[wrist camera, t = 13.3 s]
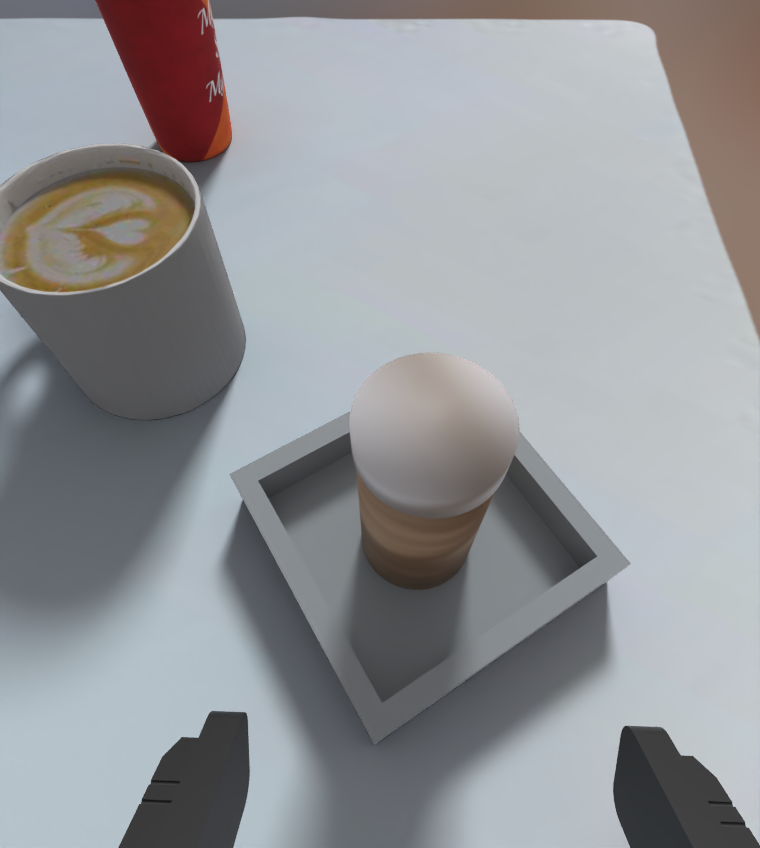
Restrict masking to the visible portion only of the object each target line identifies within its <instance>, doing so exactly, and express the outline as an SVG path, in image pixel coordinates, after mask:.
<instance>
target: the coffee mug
mask: <svg viewBox="0 0 760 848" xmlns="http://www.w3.org/2000/svg"><path fill="white" fill-rule="evenodd" d="M0 290H1V292H2V293H3V294H4V295H5V297H6V298H7V299H8V300H9V301H10V303H11V304H12V305H13V306H14V308H15V309H16V310H17V311H18V312H19V314H20V315H21V316H22V317H23V319H24V320H25V321H26V322H27V323H28V325H29V326H30V327H31V328H32V330H33V331H34V332H35V333H36V334H37V336H38V337H39V338H40V339H41V341H42V342H43V343H44V344H45V345H46V347H47V348H48V349H49V350H50V352H51V353H52V354H53V355H54V356H55V358H56V359H57V360H58V361H59V363H60V364H61V365H62V366H63V367H64V369H65V370H66V371H67V372H68V374H69V375H70V376H71V377H72V378H73V380H74V381H75V382H76V383H77V385H78V386H79V387H80V388H81V390H82V391H83V392H84V393H85V394H86V396H87V397H88V398H89V399H90V400H91V401H92V402H93V403H94V404H95V405H97V406H98V407H100V408H101V409H103V410H105V411H107V412H109V413H111V414H114V415H116V416H120V417H124V418H128V419H136V420H154V419H161V418H168V417H172V416H175V415H179V414H182V413H185V412H188V411H190V410H192V409H194V408H196V407H198V406H200V405H202V404H203V403H205V402H207V401H208V400H210V399H211V398H212V397H214V396H215V395H216V394H217V393H219V392H220V391H221V390H222V389H223V388H224V387H225V386H226V385H227V384H228V383H229V381H230V380H231V379H232V377H233V376H234V375H235V373H236V371H237V370H238V368H239V366H240V364H241V361H242V359H243V354H244V350H245V343H246V336H245V330H244V326H243V323H242V319H241V316H240V313H239V310H238V307H237V304H236V301H235V298H234V294H233V291H232V288H231V285H230V282H229V279H228V276H227V273H226V270H225V266H224V263H223V260H222V257H221V254H220V251H219V248H218V245H217V241H216V238H215V235H214V232H213V229H212V226H211V223H210V220H209V217H208V213H207V210H206V207H205V204H204V201H203V198H202V195H201V192H200V190H199V187H198V184H197V182H196V181H195V179H194V177H193V176H192V174H191V173H190V172H189V171H188V170H187V168H186V167H185V166H184V165H182V164H181V163H180V162H179V161H177V160H176V159H175V158H173V157H171V156H169V155H167V154H165V153H163V152H160V151H158V150H155V149H151V148H147V147H143V146H139V145H130V144H116V143H113V144H97V145H89V146H83V147H79V148H74V149H70V150H65V151H62V152H59V153H56V154H53V155H51V156H48V157H46V158H44V159H41V160H39V161H37V162H34V163H33V164H31V165H29V166H27V167H25V168H24V169H22V170H20V171H19V172H17V173H16V174H15V175H13V176H12V177H10V178H9V179H8V180H6V181H5V182H4V183H3V184H2V185H1V186H0Z"/></svg>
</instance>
